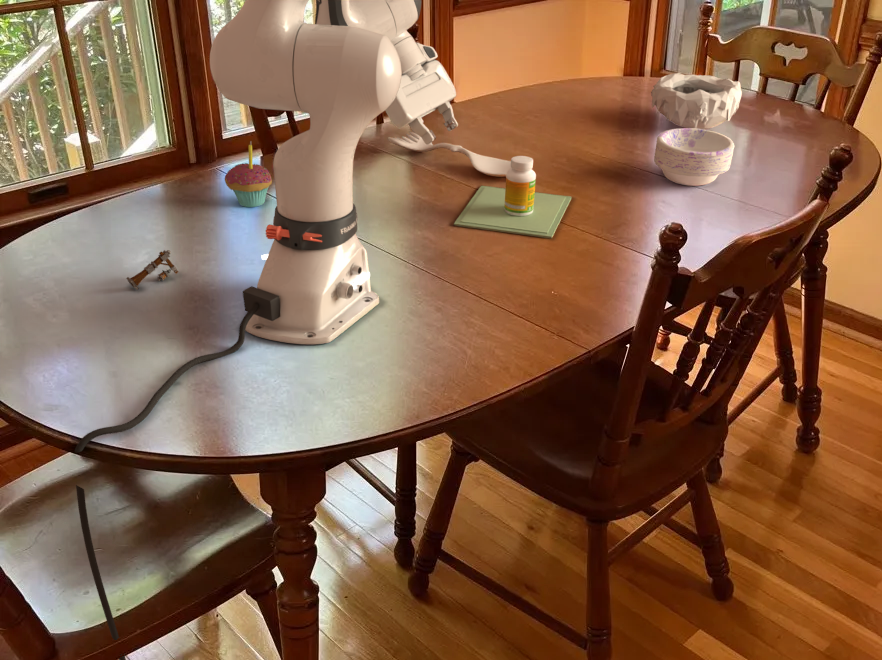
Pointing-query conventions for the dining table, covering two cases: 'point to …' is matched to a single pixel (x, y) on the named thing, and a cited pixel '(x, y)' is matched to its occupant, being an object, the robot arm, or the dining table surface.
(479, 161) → the white spork utensil
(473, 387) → the dining table surface
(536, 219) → the placemat
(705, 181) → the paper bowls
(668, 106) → the bowl
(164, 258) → the wooden post with brackets
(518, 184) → the supplement bottle
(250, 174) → the cupcake
